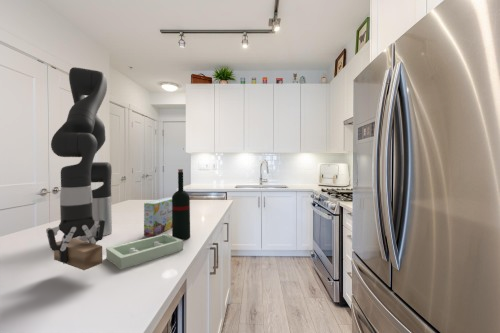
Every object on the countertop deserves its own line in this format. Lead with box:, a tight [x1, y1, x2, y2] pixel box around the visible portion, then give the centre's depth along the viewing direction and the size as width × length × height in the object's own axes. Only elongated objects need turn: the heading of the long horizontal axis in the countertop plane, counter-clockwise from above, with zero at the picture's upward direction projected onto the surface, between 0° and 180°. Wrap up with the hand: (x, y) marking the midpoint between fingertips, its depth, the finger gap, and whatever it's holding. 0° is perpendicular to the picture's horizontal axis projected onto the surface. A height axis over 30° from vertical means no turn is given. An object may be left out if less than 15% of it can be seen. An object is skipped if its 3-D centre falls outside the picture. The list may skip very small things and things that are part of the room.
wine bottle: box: [171, 168, 191, 241], centre depth 105 cm, size 8×10×30 cm
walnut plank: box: [53, 238, 104, 271], centre depth 69 cm, size 5×15×5 cm, turn 64°
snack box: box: [143, 196, 172, 238], centre depth 116 cm, size 21×6×15 cm, turn 168°
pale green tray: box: [105, 233, 184, 270], centre depth 86 cm, size 13×22×4 cm, turn 138°
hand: (78, 258), depth 69 cm, fingers closed on walnut plank, 6 cm apart
